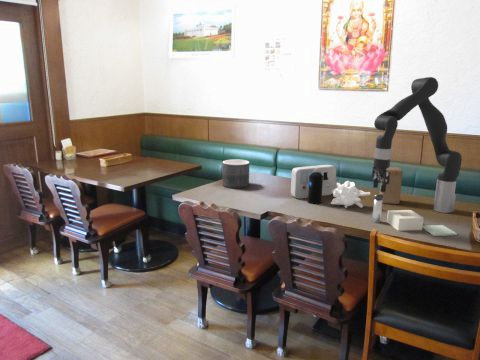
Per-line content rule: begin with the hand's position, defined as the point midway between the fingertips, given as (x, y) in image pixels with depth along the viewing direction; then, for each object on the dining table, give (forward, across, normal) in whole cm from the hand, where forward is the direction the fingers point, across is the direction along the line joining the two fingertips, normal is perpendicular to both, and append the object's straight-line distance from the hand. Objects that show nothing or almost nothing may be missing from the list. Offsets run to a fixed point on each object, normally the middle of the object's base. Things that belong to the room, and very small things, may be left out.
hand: (379, 189), depth 198 cm
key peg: (+17, 0, 0) cm, 17 cm away
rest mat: (+16, -15, -24) cm, 33 cm away
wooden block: (+17, +32, -22) cm, 42 cm away
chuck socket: (+16, -7, -11) cm, 21 cm away
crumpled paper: (+17, +26, +6) cm, 31 cm away
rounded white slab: (+17, +48, +19) cm, 54 cm away
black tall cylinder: (+17, +34, +22) cm, 44 cm away
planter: (+17, +76, +64) cm, 101 cm away
